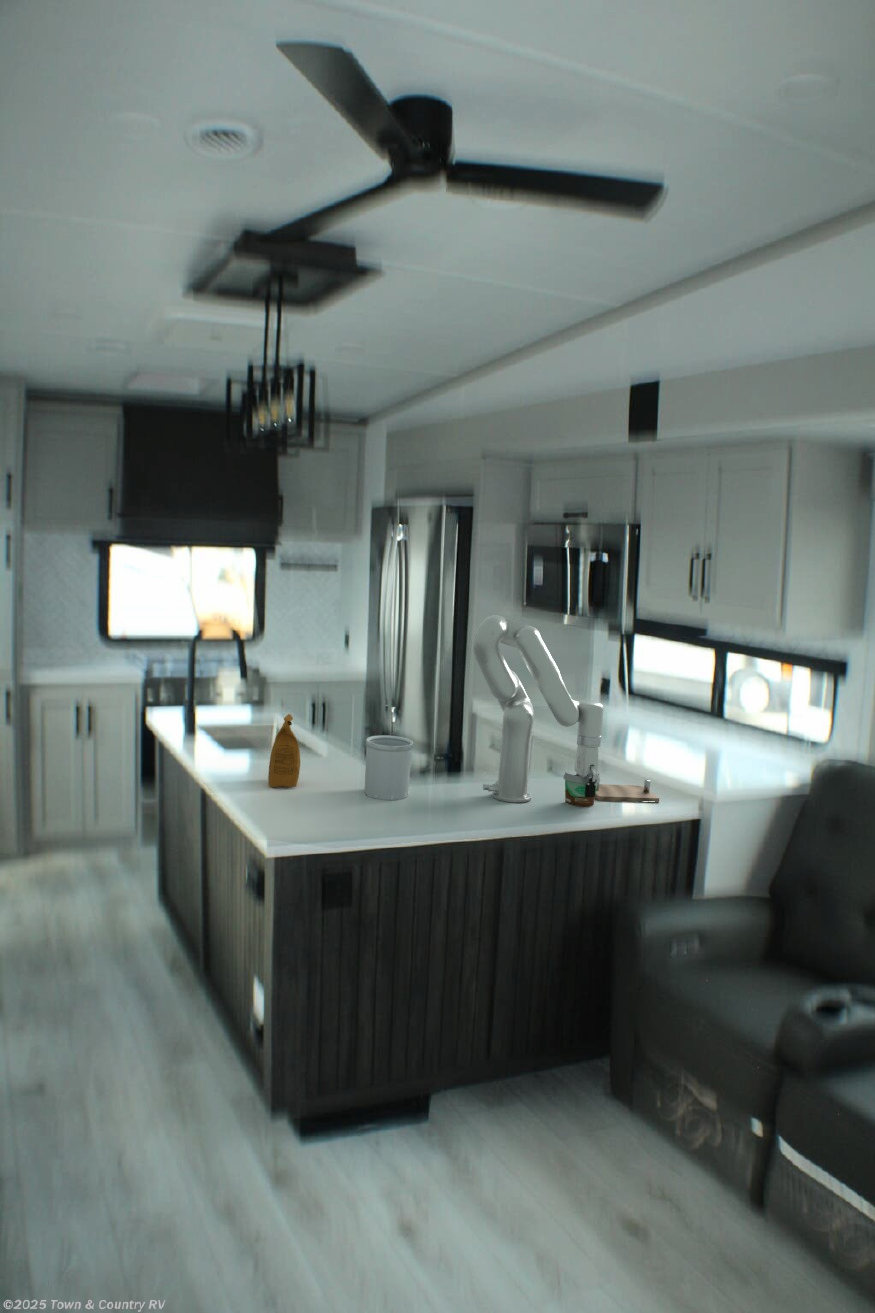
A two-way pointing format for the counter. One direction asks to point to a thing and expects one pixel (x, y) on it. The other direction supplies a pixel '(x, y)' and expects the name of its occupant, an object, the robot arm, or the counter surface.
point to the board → (625, 792)
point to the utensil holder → (387, 767)
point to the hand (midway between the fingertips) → (585, 792)
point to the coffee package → (284, 758)
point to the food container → (578, 790)
